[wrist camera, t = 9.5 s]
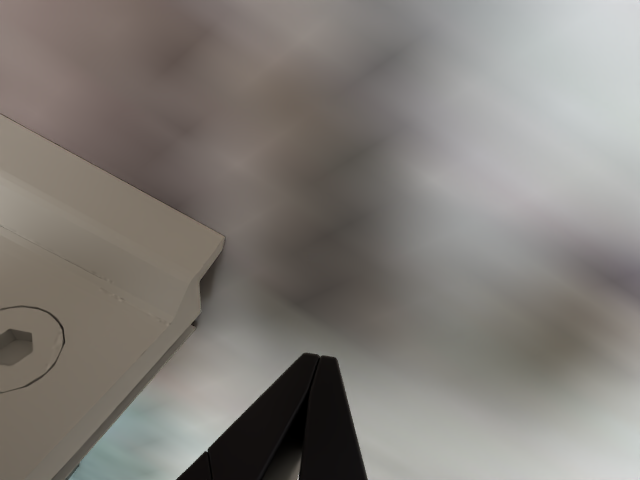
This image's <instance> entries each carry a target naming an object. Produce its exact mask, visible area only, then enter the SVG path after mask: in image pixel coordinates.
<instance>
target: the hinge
mask: <svg viewBox="0 0 640 480" xmlns="http://www.w3.org/2000/svg"><path fill="white" fill-rule="evenodd" d="M224 241H225V236H223V235H221V234H219V233H217V232H215V231H214V230H212V229H210V228H208V227H206V226H204V225H203V224H201V223H199V222H197V221H195V220H193V219H192V218H190V217H188V216H186V215H184V214H182V213H181V212H179V211H177V210H175V209H173V208H171V207H170V206H168V205H166V204H164V203H162V202H160V201H159V200H157V199H155V198H153V197H151V196H150V195H148V194H146V193H144V192H142V191H140V190H139V189H137V188H135V187H133V186H131V185H129V184H128V183H126V182H124V181H122V180H120V179H118V178H117V177H115V176H113V175H111V174H109V173H107V172H106V171H104V170H102V169H100V168H98V167H96V166H95V165H93V164H91V163H89V162H87V161H85V160H84V159H82V158H80V157H78V156H76V155H74V154H73V153H71V152H69V151H67V150H65V149H63V148H62V147H60V146H58V145H56V144H54V143H52V142H51V141H49V140H47V139H45V138H43V137H41V136H40V135H38V134H36V133H34V132H32V131H31V130H29V129H27V128H25V127H23V126H21V125H20V124H18V123H16V122H14V121H12V120H10V119H9V118H7V117H5V116H3V115H1V114H0V480H65V479H66V478H67V476H68V475H69V474H70V473H71V472H72V471H73V469H74V468H75V467H76V466H77V465H78V464H79V463H80V461H81V460H82V459H83V458H84V457H85V456H86V455H87V453H88V452H89V451H90V450H91V449H92V448H93V447H94V445H95V444H96V443H97V442H98V441H99V440H100V438H101V437H102V436H103V435H104V434H105V433H106V432H107V430H108V429H109V428H110V427H111V426H112V425H113V424H114V422H115V421H116V420H117V419H118V418H119V417H120V415H121V414H122V413H123V412H124V411H125V410H126V409H127V407H128V406H129V405H130V404H131V403H132V402H133V401H134V399H135V398H136V397H137V396H138V395H139V394H140V393H141V391H142V390H143V389H144V388H145V387H146V386H147V384H148V383H149V382H150V381H151V380H152V379H153V378H154V376H155V375H156V374H157V373H158V372H159V371H160V370H161V368H162V367H163V366H164V365H165V364H166V363H167V361H168V360H169V359H170V358H171V357H172V356H173V355H174V353H175V352H176V351H177V350H178V349H179V348H180V347H181V345H182V344H183V343H184V342H185V341H186V340H187V339H188V337H189V336H190V335H191V334H192V333H193V332H194V330H195V329H196V327H194V326H192V325H190V324H191V323H192V322H193V321H194V320H195V319H196V318H197V317H198V315H199V314H200V313H201V300H200V286H199V282H200V280H201V279H202V277H203V276H204V274H205V273H206V272H207V270H208V269H209V268H210V266H211V265H212V264H213V262H214V261H215V259H216V258H217V257H218V255H219V254H220V253H221V251H222V250H223V246H224Z"/></svg>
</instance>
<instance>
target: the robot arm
mask: <svg viewBox="0 0 640 480" xmlns="http://www.w3.org/2000/svg"><path fill="white" fill-rule="evenodd" d="M299 472H300V473H299ZM298 475H299V480H368V479H367V475H366V471H365V467H364V463H363V459H362V455H361V451H360V447H359V443H358V439H357V435H356V431H355V427H354V423H353V419H352V416H351V412H350V408H349V404H348V400H347V396H346V392H345V388H344V384H343V380H342V376H341V372H340V368H339V364H338V360H337V358H335V357H330V356H321V357H320V356H319V355H317V354H311V353H303V354H302V355H301V356H300V357H299V358H298V359H297V360H296V361H295V362H294V363H293V364H292V365H291V366H290V367H289V368H288V369H287V370H286V371H285V372H284V373H283V374H282V375H281V376H280V377H279V378H278V379H277V380H276V381H275V382H274V383H273V384H272V385H271V386H270V387H269V388H268V389H267V390H266V391H265V392H264V393H263V394H262V395H261V396H260V397H259V398H258V399H257V400H256V401H255V402H254V403H253V404H252V405H251V406H250V407H249V408H248V409H247V410H246V411H245V412H244V413H243V414H242V415H241V416H240V417H239V418H238V419H237V420H236V421H235V422H234V423H233V424H232V425H231V426H230V427H229V428H228V429H227V430H226V431H225V432H224V433H223V434H222V435H221V436H220V437H219V438H218V439H217V440H216V441H215V442H214V443H213V444H212V445H211V446H210V447H209V448H208V452H207V451H205V452H204V453H203V454H202V455H201V456H200V457H199V458H198V459H197V460H196V461H195V462H194V463H193V464H192V465H191V466H190V467H189V468H188V469H187V470H186V471H185V472H184V473H182V474H181V475H180V476H179V477H178V478H177V479H176V480H297V478H298Z"/></svg>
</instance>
